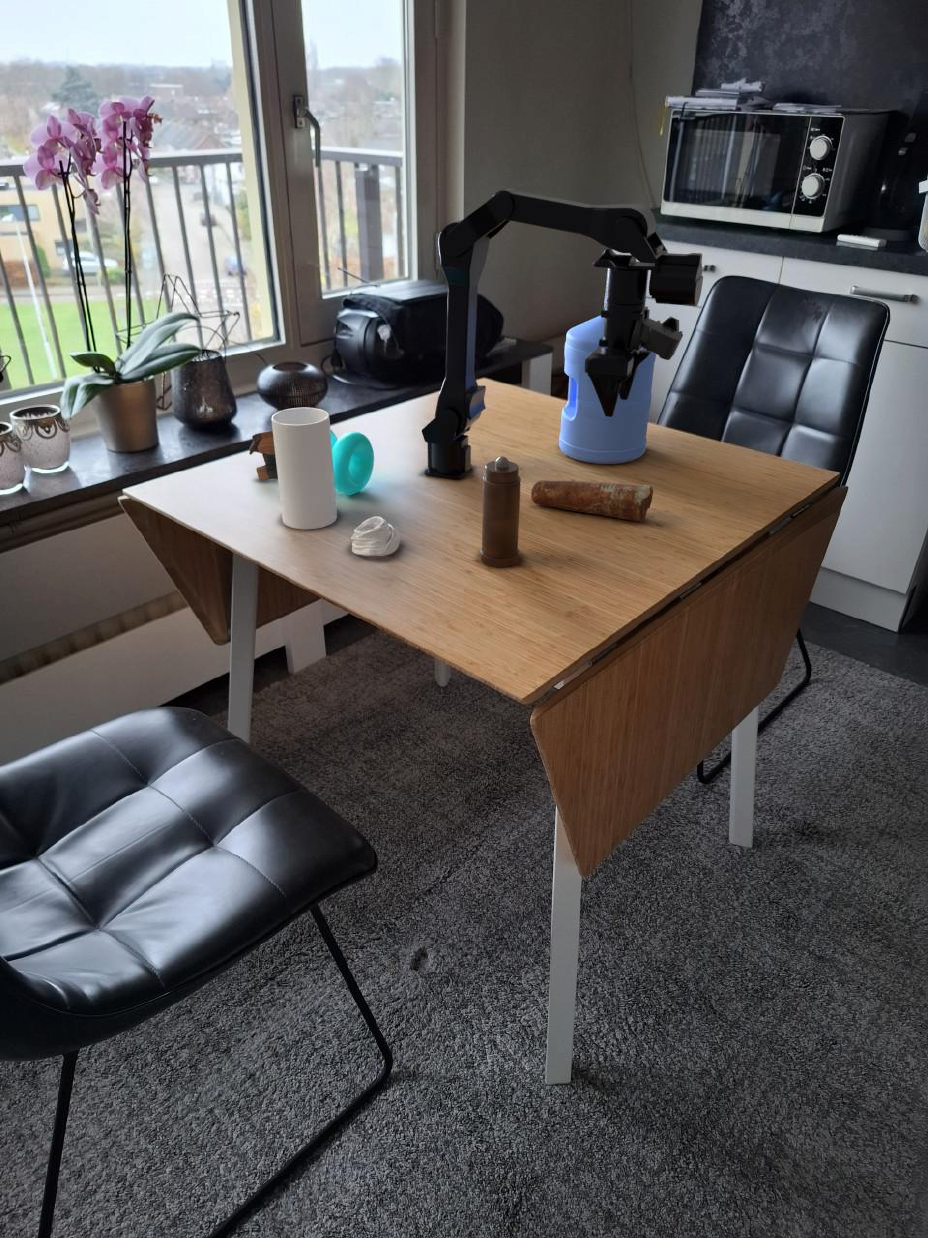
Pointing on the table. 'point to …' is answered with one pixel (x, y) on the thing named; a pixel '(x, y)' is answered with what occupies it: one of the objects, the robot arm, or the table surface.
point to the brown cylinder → (595, 497)
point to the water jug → (583, 415)
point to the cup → (305, 467)
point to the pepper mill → (500, 513)
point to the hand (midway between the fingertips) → (616, 407)
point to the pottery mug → (265, 454)
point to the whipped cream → (375, 538)
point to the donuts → (351, 462)
